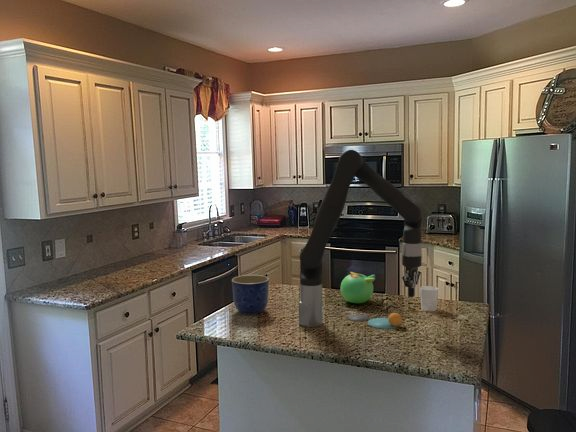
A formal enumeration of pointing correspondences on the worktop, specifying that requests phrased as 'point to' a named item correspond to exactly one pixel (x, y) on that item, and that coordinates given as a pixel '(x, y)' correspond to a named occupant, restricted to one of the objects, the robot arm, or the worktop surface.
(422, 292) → the white cup
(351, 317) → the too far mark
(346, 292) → the toy bird
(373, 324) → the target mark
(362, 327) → the worktop surface
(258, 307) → the planter
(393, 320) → the ball
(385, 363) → the worktop surface
